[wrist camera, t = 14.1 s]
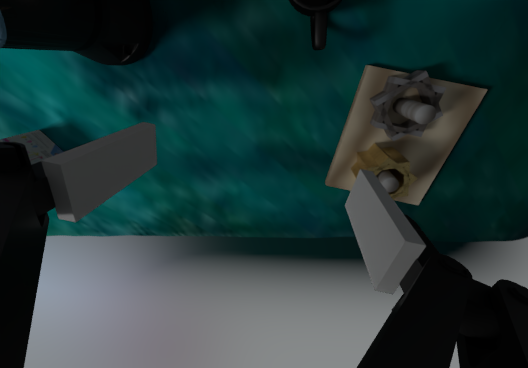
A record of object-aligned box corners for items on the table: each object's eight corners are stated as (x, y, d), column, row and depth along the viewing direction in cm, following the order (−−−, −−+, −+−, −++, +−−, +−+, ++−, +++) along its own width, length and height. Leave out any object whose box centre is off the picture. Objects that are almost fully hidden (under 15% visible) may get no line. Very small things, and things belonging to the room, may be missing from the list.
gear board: (325, 181, 46) (331, 207, 38) (367, 61, 36) (389, 59, 27) (414, 201, 46) (441, 232, 37) (483, 84, 35) (541, 90, 27)
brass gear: (351, 187, 44) (361, 207, 38) (349, 147, 41) (358, 161, 34) (398, 181, 42) (416, 201, 36) (400, 138, 39) (419, 152, 33)
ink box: (74, 159, 51) (7, 188, 39) (57, 179, 54) (-10, 211, 42) (38, 128, 48) (-45, 149, 37) (23, 150, 51) (-59, 176, 40)
